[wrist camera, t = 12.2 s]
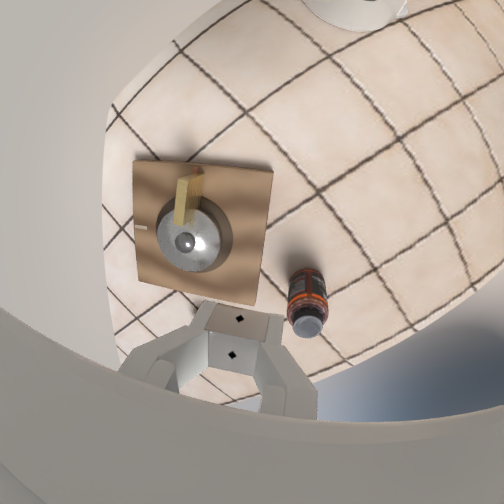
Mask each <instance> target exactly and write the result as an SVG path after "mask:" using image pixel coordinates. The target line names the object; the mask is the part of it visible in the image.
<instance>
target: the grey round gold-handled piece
mask: <svg viewBox="0 0 504 504" xmlns="http://www.w3.org/2000/svg"><path fill="white" fill-rule="evenodd" d="M203 180H204V174H202V173H197V172H195V173H192V174H190V175H187V176H185V177H182V178H180V179H178V182H177V191H176V200H175V209H174V210H172V211H171V212H169V213H168V214H167V215H166V216H164V218H163V219H162V220H161V222H160V224H159V227H158V231H157V240H158V244H159V247H160V250H161V252H162V253H163V255H164V256H165V258H166V259H167V260H168V261H169V262H170V263H171V264H173V265H174V266H176V267H178V268H180V269H182V270H186V271H200V270H203V269H205V268H207V267H208V266H210V265H211V264H212V263H213V262H214V260H215V259H216V257H217V256H218V254H219V252H220V250H221V247H222V241H223V239H222V232H221V228H220V226H219V224H218V222H217V221H216V219H215V218H214V217H213V216H212V215H211V214H210V213H209V212H207V211H206V210H204V209H202V208H200V200H201V193H202V187H203Z"/></svg>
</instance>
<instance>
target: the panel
mask: <svg viewBox="0 0 504 504" xmlns="http://www.w3.org/2000/svg"><path fill="white" fill-rule="evenodd" d="M195 172H197V173H202V174H204V180H203V187H202V193H201V200H200V208H202V209H204V210H206V211H207V212H209V213H210V214H211V215H212V216H213V217H214V218H215V219H216V221H217V222H218V224H219V226H220V228H221V232H222V239H223V241H222V247H221V250H220V252H219V254H218V256H217V257H216V259H215V260H214V262H213V263H212V264H211V265H210V266H208V267H207V268H205V269H203V270H200V271H186V270H182V269H180V268H178V267H176V266H174V265H173V264H171V263H170V262H169V261H168V260H167V259H166V258H165V256H164V255H163V253H162V252H161V250H160V247H159V244H158V240H157V231H158V227H159V224H160V222H161V220H162V219H163V218H164V216H166V215H167V214H168V213H169V212H171V211H172V210H174V209H175V200H176V191H177V182H178V179H180V178H182V177H185V176H187V175H190V174H192V173H195ZM273 173H274V172H271V171H264V170H256V169H249V168H240V167H232V166H223V165H213V164H202V163H189V162H175V161H157V160H136V161H133V218H134V235H135V249H136V260H137V270H138V279H139V281H141V282H145V283H149V284H153V285H157V286H161V287H165V288H170V289H174V290H178V291H183V292H187V293H191V294H196V295H200V296H205V297H210V298H214V299H219V300H224V301H229V302H234V303H239V304H244V305H249V306H254V305H255V302H256V296H257V290H258V283H259V276H260V268H261V261H262V254H263V247H264V240H265V232H266V225H267V218H268V210H269V203H270V195H271V188H272V180H273Z"/></svg>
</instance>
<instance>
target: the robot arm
mask: <svg viewBox="0 0 504 504" xmlns="http://www.w3.org/2000/svg"><path fill="white" fill-rule="evenodd" d="M302 1H303V2H304V3H305V4H306V6H307V7H308V8H309V9H310V10H311V11H312V12H313V13H314V14H315V15H316V16H318V17H319V18H320V19H322V20H324V21H325V22H327V23H329V24H331V25H334V26H336V27H339V28H342V29H346V30H350V31H358V32H367V31H374V30H377V29H380V28H382V27H384V26H385V25H387V24H388V23H389V22H390V21H392V20H393V19H397V18H403V17H405V16H407V14H408V7H407V4H406V2H407V0H302ZM269 316H270V317H269ZM283 324H284V315H279V314H272V313H270V314H269V313H263V312H258V311H252V310H247V309H243V308H238V307H234V306H229V305H225V304H220V303H215V302H211V301H206V300H205V301H203V302H202V304H201V306H200V307H199V309H198V311H197V313H196V315H195V316H194V318H193V320H192V322H191V324H190V325H189V326H186V325H185V326H183V327H181V328H179V329H176V330H174V331H172V332H170V333H168V334H165V335H163V336H161V337H159V338H157V339H154V340H152V341H150V342H148V343H145V344H143V345H141V346H138V347H136V348H134V349H133V350H132V351H131V353H130V354H129V355H128V357H127V358H126V360H125V361H124V363H123V364H122V365H121V367H120V368H119V370H118V371H114V370H112V369H110V368H108V367H105V366H103V365H101V364H99V363H97V362H94V361H92V360H90V359H88V358H86V357H84V356H82V355H80V354H78V353H76V352H74V351H72V350H70V349H68V348H66V347H64V346H62V345H60V344H59V343H57V342H55V341H53V340H51V339H50V338H48V337H46V336H44V335H43V334H41V333H39V332H38V331H36V330H34V329H33V328H31V327H30V326H28V325H26V324H25V323H23V322H22V321H20V320H19V319H17V318H16V317H14V316H13V315H11V314H10V313H8V312H7V311H6V310H4V309H3V308H1V307H0V504H504V405H501V406H497V407H493V408H489V409H485V410H481V411H477V412H471V413H466V414H461V415H455V416H448V417H441V418H433V419H424V420H414V421H398V422H339V421H322V420H317V397H318V394H317V393H318V392H317V390H316V388H315V387H314V386H313V384H312V383H311V381H310V380H309V379H308V377H307V376H306V375H305V373H304V372H303V370H302V369H301V368H300V366H299V365H298V364H297V362H296V361H295V359H294V358H293V357H292V355H291V354H290V352H289V351H288V350H287V348H286V347H285V346H282V345H281V340H282V332H283ZM266 332H267V333H266ZM208 367H212V368H217V369H222V370H227V371H232V372H236V373H240V374H244V375H249V376H254V377H253V378H254V380H255V382H256V385H257V387H258V389H259V391H260V394H261V396H262V398H261V402H260V406H259V410H258V412H253V411H247V410H242V409H237V408H233V407H228V406H224V405H219V404H215V403H211V402H207V401H203V400H200V399H196V398H192V397H189V396H185V395H182V394H179V388H181V387H182V386H184V385H185V384H186V383H188V382H189V381H191V380H192V379H193V378H195V377H196V376H198V375H199V374H200V373H202V372H203V371H204V370H206V369H207V368H208Z"/></svg>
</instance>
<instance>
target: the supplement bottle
mask: <svg viewBox="0 0 504 504" xmlns="http://www.w3.org/2000/svg"><path fill="white" fill-rule="evenodd" d="M287 318H288V321H289V323H290V324H291V325H292V326H293V330H294V332H295V334H296V335H298V336H299V337H302V338H313V337H315V336H317V335H318V334H319V333H321V331H322V328H323V325H324V323H325V322H326V321H327V318H328V302H327V294H326V287H325V281H324V279H323V277H322V275H321V274H320V273H318V272H317V271H315V270H311V269H303V270H300V271H298V272H296V273H295V274H294V275H293V276H292V278H291V280H290V283H289V292H288V304H287Z"/></svg>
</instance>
